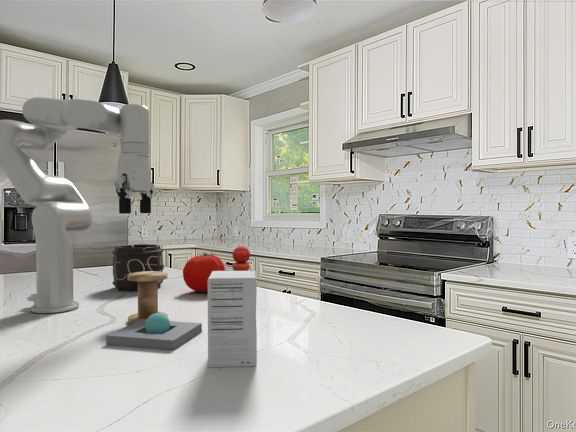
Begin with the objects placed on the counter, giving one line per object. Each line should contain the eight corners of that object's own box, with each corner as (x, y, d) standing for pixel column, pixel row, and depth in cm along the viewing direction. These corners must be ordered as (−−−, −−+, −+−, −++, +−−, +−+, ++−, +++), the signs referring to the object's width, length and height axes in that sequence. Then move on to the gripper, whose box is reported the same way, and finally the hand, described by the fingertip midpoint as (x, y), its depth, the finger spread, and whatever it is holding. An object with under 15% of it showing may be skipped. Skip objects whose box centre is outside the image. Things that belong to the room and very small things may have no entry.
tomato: (217, 286, 163) (217, 250, 163) (232, 293, 151) (232, 254, 151) (176, 291, 155) (176, 253, 155) (188, 297, 143) (188, 256, 143)
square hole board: (106, 344, 94) (106, 335, 94) (142, 327, 107) (142, 319, 107) (173, 350, 90) (173, 340, 90) (201, 331, 104) (201, 323, 104)
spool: (119, 324, 110) (119, 276, 110) (141, 315, 120) (141, 270, 120) (155, 327, 108) (154, 277, 108) (174, 317, 117) (174, 271, 117)
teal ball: (139, 337, 97) (141, 312, 98) (151, 335, 102) (154, 311, 103) (161, 339, 95) (163, 314, 96) (173, 337, 101) (175, 313, 102)
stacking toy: (249, 314, 120) (249, 247, 120) (222, 313, 122) (222, 247, 121) (257, 308, 128) (257, 245, 127) (231, 307, 129) (231, 244, 129)
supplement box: (211, 351, 89) (211, 270, 89) (256, 350, 90) (256, 269, 90) (207, 368, 80) (206, 277, 80) (257, 366, 81) (256, 277, 80)
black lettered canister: (155, 292, 152) (155, 248, 152) (104, 292, 152) (104, 248, 152) (170, 283, 170) (170, 244, 170) (124, 283, 170) (124, 243, 170)
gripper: (140, 155, 127) (141, 213, 128) (102, 147, 111) (103, 213, 111) (163, 154, 126) (164, 213, 126) (128, 146, 109) (129, 213, 109)
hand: (135, 213), depth 118 cm, fingers open, 9 cm apart
